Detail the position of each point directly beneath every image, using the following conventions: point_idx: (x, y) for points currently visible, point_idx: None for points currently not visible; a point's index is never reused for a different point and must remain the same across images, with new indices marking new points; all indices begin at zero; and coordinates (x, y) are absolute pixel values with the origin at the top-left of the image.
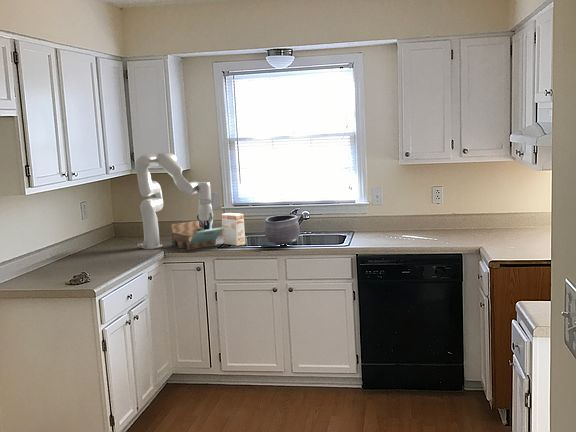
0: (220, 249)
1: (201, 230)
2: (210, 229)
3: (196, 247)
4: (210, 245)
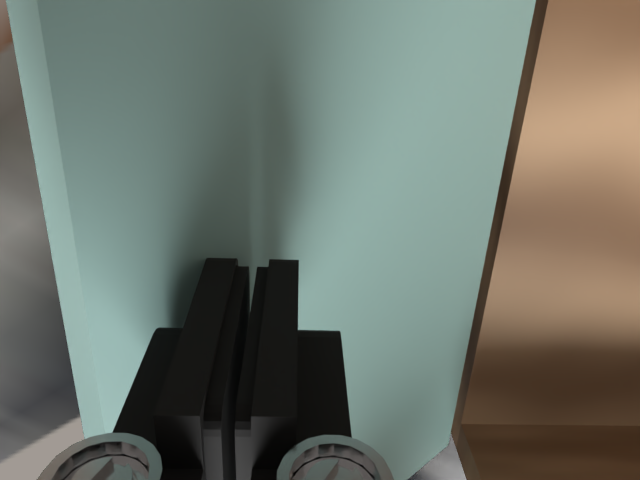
0: (16, 219)
1: (41, 18)
2: (93, 411)
3: None
4: None
